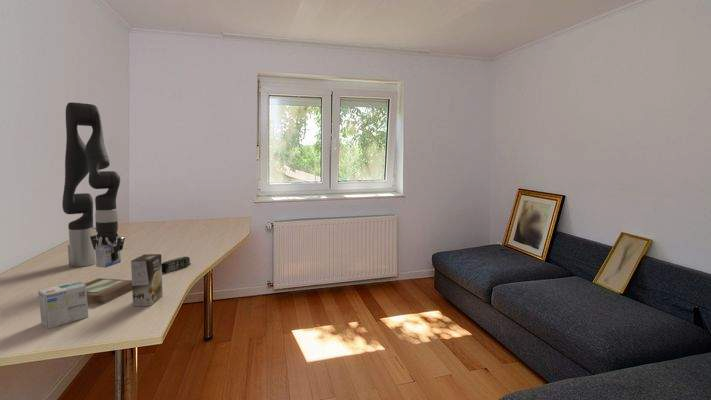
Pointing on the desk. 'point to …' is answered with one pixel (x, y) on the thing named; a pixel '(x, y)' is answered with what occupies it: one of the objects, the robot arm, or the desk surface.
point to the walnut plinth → (106, 289)
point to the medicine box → (105, 256)
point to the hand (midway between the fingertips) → (108, 260)
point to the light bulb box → (63, 304)
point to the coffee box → (146, 279)
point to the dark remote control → (175, 264)
